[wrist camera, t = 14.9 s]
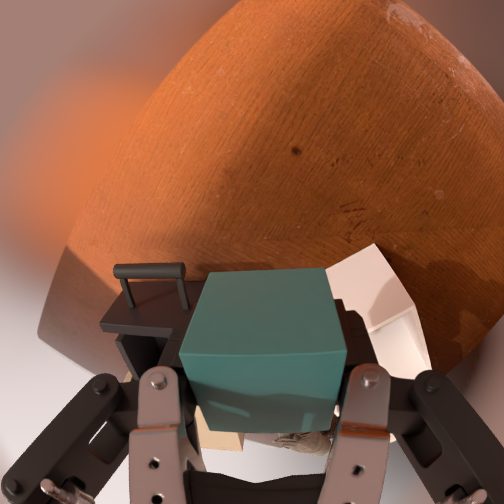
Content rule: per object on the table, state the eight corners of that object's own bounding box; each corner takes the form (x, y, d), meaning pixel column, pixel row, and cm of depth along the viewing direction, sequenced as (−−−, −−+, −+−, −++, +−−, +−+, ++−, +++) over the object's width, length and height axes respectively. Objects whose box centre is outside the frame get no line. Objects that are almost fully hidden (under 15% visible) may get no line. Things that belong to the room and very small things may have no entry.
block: (225, 352, 13) (209, 431, 9) (209, 271, 11) (177, 353, 7) (319, 349, 12) (329, 430, 8) (324, 266, 11) (348, 350, 7)
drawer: (118, 244, 29) (81, 280, 22) (217, 238, 28) (199, 281, 21) (157, 360, 38) (140, 402, 31) (236, 364, 37) (229, 412, 29)
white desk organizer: (419, 366, 37) (440, 419, 27) (358, 394, 40) (369, 450, 30) (374, 243, 28) (414, 304, 19) (286, 289, 32) (289, 363, 22)
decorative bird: (314, 437, 48) (315, 468, 41) (262, 409, 43) (260, 446, 36) (337, 428, 46) (340, 460, 39) (288, 398, 41) (288, 437, 35)
